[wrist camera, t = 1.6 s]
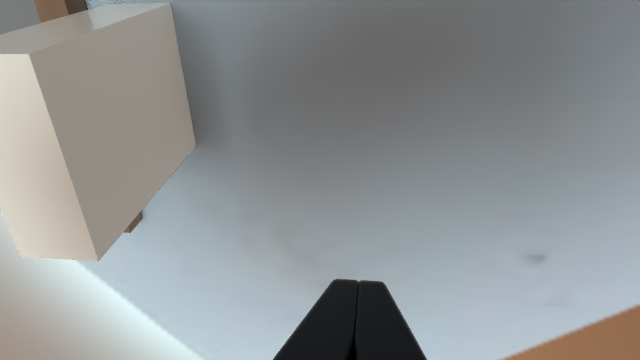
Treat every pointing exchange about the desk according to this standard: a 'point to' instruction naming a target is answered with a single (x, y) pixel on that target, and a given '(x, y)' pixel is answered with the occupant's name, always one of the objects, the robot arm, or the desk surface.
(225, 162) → the desk surface
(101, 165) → the cream rectangular block
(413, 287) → the desk surface
